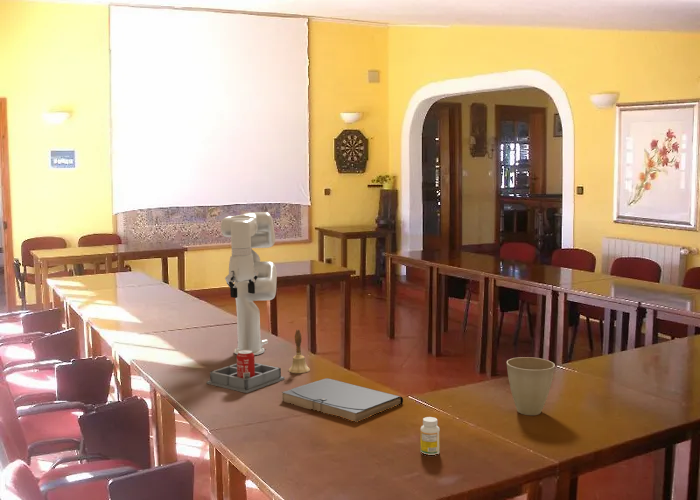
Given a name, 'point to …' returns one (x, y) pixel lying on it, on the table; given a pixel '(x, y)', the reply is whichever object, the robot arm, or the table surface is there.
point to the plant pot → (530, 383)
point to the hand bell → (298, 357)
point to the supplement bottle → (430, 436)
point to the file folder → (341, 399)
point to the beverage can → (245, 364)
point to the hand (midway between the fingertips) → (242, 295)
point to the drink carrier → (230, 380)
